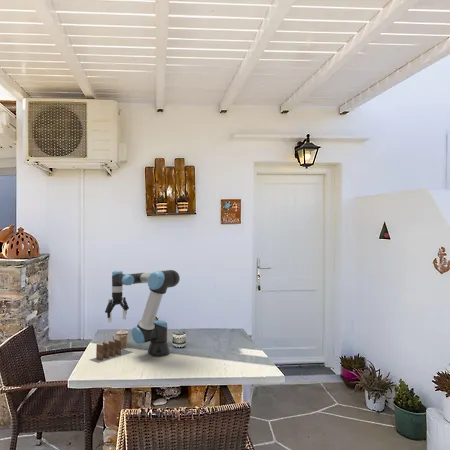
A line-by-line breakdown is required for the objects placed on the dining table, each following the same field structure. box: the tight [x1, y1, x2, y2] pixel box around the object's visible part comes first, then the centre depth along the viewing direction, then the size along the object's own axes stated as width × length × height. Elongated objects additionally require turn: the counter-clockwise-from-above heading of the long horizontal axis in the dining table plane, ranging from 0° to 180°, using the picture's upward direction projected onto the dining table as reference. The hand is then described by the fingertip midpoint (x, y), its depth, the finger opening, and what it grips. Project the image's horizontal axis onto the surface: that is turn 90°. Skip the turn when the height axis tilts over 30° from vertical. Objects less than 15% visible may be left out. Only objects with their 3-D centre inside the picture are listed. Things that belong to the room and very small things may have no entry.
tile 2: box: [113, 338, 122, 355], centre depth 295 cm, size 2×5×10 cm, turn 54°
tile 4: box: [102, 341, 110, 359], centre depth 287 cm, size 2×5×10 cm, turn 54°
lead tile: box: [120, 335, 127, 350], centre depth 308 cm, size 2×5×10 cm, turn 144°
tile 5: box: [95, 343, 103, 360], centre depth 283 cm, size 2×5×10 cm, turn 54°
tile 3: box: [108, 340, 115, 357], centre depth 291 cm, size 2×5×10 cm, turn 54°
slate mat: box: [89, 349, 134, 364], centre depth 291 cm, size 10×30×1 cm, turn 144°
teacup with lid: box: [112, 328, 129, 345], centre depth 321 cm, size 12×9×12 cm
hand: (117, 320), depth 311 cm, fingers open, 13 cm apart
